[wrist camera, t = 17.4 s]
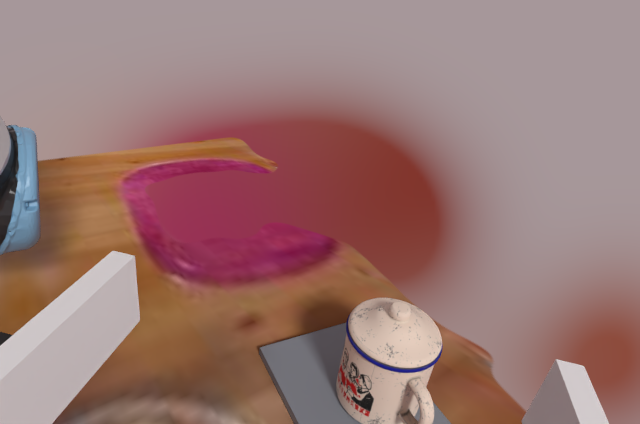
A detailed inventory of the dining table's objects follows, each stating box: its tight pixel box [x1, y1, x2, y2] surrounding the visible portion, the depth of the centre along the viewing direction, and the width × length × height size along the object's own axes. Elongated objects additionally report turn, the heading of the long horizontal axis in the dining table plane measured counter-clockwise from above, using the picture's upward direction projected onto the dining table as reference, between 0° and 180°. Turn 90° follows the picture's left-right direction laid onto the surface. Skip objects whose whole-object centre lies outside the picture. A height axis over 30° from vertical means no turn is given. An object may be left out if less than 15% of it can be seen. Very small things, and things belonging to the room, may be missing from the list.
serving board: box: [259, 322, 451, 424], centre depth 44 cm, size 20×14×1 cm
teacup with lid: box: [336, 298, 442, 424], centre depth 41 cm, size 12×9×12 cm
